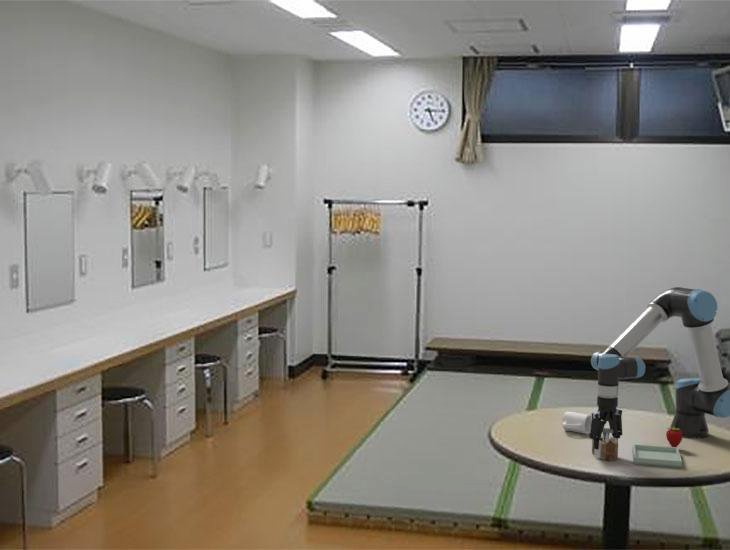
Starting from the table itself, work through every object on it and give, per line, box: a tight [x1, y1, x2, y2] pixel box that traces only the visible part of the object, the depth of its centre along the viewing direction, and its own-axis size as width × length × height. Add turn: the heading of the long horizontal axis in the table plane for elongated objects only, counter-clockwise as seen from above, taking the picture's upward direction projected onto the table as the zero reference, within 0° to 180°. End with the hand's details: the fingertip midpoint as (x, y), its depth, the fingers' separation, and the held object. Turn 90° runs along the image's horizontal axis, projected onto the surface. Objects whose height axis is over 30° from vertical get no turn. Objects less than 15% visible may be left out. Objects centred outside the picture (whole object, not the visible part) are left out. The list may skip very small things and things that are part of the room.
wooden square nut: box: [591, 436, 619, 462], centre depth 353 cm, size 11×6×6 cm, turn 12°
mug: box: [561, 411, 592, 435], centre depth 389 cm, size 12×10×8 cm
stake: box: [602, 427, 613, 443], centre depth 353 cm, size 5×2×11 cm, turn 76°
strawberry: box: [665, 424, 684, 448], centre depth 366 cm, size 6×8×10 cm
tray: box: [631, 443, 683, 469], centre depth 352 cm, size 17×20×2 cm
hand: (605, 455), depth 353 cm, fingers closed on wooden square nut, 7 cm apart
